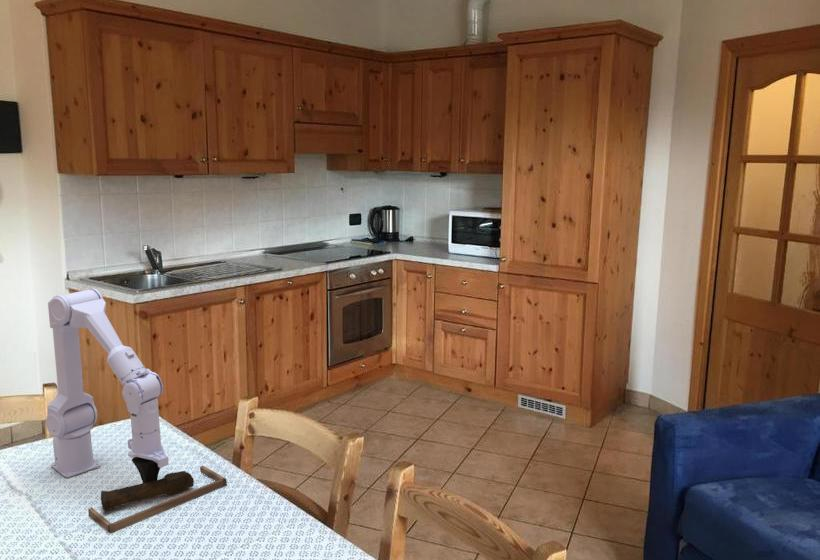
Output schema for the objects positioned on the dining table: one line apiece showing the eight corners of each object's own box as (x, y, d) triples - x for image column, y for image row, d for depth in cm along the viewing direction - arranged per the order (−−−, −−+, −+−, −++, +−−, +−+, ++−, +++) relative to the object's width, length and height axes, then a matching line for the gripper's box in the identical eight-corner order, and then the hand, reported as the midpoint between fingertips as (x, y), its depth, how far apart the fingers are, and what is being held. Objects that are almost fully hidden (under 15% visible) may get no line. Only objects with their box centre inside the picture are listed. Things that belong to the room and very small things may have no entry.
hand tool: (102, 515, 142) (101, 497, 140) (100, 503, 145) (99, 485, 143) (196, 495, 151) (196, 478, 149) (192, 484, 154) (192, 467, 152)
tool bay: (88, 515, 141) (88, 509, 141) (203, 471, 160) (203, 465, 160) (109, 533, 135) (109, 526, 134) (226, 485, 154) (226, 478, 154)
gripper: (112, 425, 150) (117, 482, 152) (144, 444, 140) (149, 505, 143) (143, 416, 155) (147, 471, 157) (175, 434, 145) (180, 492, 148)
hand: (150, 487), depth 150 cm, fingers closed
